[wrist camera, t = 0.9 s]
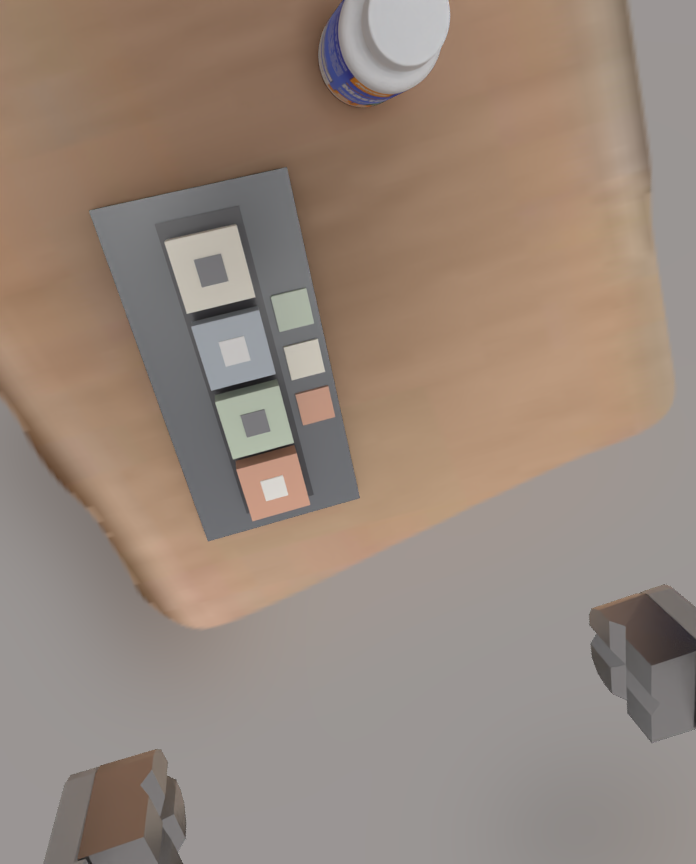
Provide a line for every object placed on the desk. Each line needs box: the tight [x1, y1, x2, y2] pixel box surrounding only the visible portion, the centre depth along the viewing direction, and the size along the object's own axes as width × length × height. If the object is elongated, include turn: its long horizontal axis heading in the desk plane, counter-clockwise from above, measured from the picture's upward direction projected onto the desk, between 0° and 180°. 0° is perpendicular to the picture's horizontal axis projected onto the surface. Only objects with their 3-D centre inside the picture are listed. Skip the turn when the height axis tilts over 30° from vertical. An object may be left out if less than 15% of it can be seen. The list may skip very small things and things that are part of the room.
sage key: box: [215, 379, 294, 459], centre depth 40 cm, size 4×4×2 cm
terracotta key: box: [236, 445, 310, 521], centre depth 42 cm, size 4×4×2 cm
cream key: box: [164, 224, 255, 314], centre depth 35 cm, size 4×4×2 cm
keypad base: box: [89, 167, 360, 541], centre depth 41 cm, size 24×12×2 cm, turn 12°
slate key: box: [191, 306, 276, 391], centre depth 38 cm, size 4×4×2 cm
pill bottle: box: [318, 0, 450, 107], centre depth 32 cm, size 5×5×10 cm
